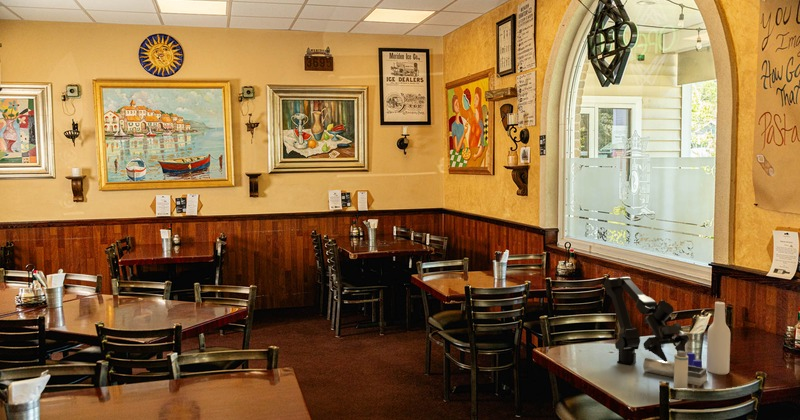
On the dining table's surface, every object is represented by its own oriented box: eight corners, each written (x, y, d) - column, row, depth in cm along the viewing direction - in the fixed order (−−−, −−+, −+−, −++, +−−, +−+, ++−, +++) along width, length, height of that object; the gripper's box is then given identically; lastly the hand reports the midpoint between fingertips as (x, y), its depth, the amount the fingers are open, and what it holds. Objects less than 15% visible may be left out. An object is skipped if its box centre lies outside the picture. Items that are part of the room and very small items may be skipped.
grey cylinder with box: (641, 373, 281) (642, 357, 280) (649, 368, 288) (649, 352, 287) (700, 385, 266) (701, 368, 265) (706, 380, 273) (707, 363, 272)
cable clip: (682, 365, 292) (683, 352, 292) (693, 366, 292) (694, 353, 291) (689, 374, 281) (690, 360, 280) (700, 375, 280) (701, 361, 279)
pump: (671, 388, 263) (672, 352, 262) (675, 384, 267) (676, 349, 266) (685, 390, 260) (686, 354, 259) (689, 387, 264) (690, 351, 263)
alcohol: (727, 376, 278) (730, 305, 275) (705, 372, 282) (707, 303, 280) (730, 370, 285) (732, 301, 283) (707, 367, 290) (710, 299, 287)
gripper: (648, 318, 267) (666, 352, 257) (686, 314, 272) (705, 348, 263) (635, 332, 275) (652, 366, 265) (673, 329, 280) (691, 362, 271)
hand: (676, 360), depth 266 cm, fingers open, 9 cm apart
